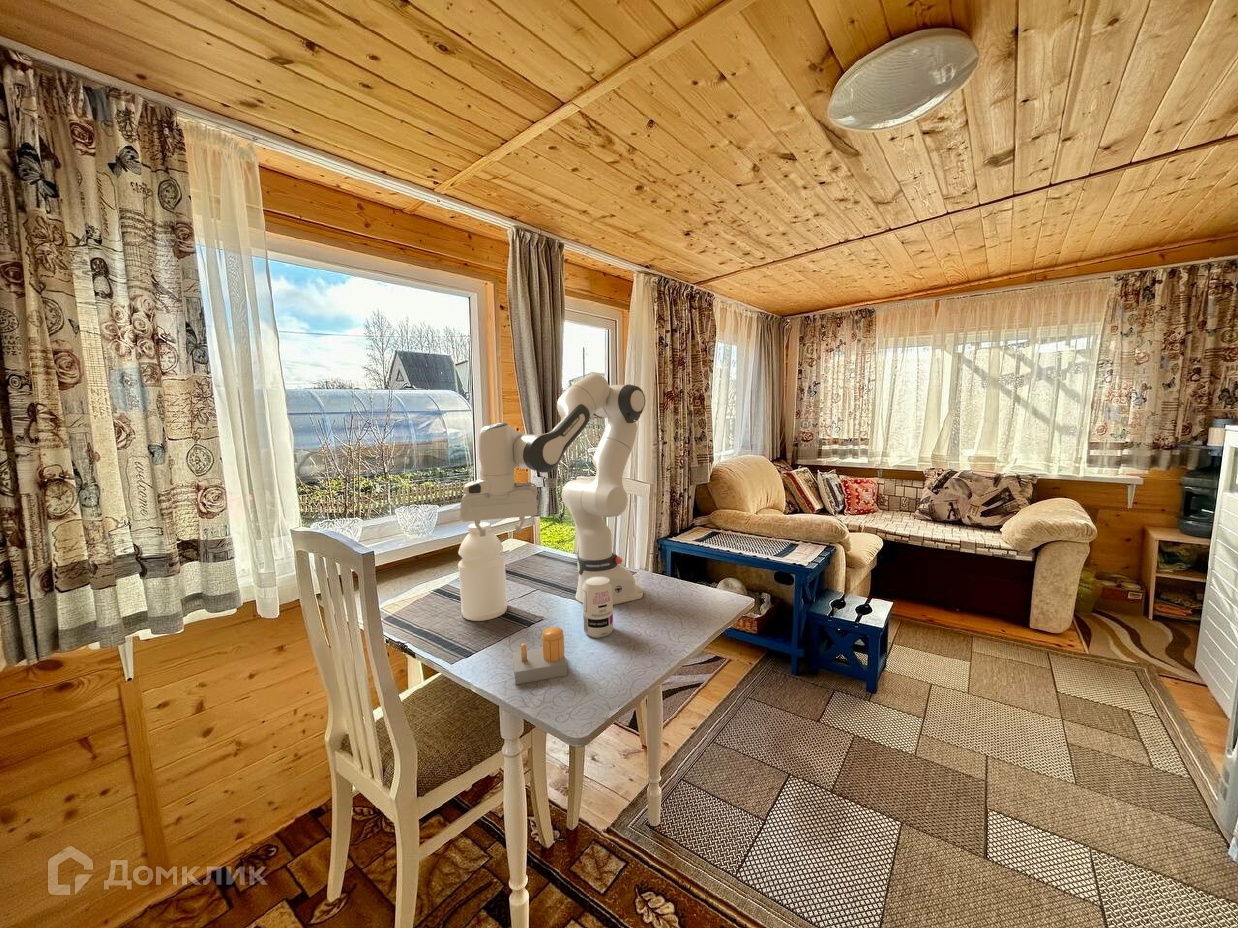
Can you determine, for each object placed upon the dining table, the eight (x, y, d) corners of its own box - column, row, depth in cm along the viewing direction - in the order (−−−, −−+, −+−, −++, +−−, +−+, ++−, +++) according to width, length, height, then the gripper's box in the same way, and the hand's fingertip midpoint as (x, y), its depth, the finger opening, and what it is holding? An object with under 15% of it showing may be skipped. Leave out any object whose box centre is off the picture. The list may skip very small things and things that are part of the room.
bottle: (495, 623, 137) (489, 531, 133) (452, 620, 139) (446, 530, 136) (514, 603, 150) (510, 519, 147) (476, 601, 153) (470, 518, 150)
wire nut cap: (562, 648, 116) (561, 625, 115) (565, 658, 111) (564, 635, 110) (542, 652, 114) (541, 629, 114) (544, 662, 109) (543, 638, 109)
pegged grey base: (561, 655, 118) (560, 629, 117) (567, 675, 109) (565, 647, 108) (513, 664, 115) (511, 637, 114) (515, 684, 106) (513, 656, 105)
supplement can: (597, 622, 136) (595, 573, 134) (619, 630, 131) (617, 579, 129) (578, 633, 130) (576, 581, 128) (600, 641, 124) (598, 588, 123)
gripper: (535, 479, 130) (538, 527, 131) (459, 484, 124) (462, 534, 126) (538, 483, 124) (540, 533, 125) (457, 488, 118) (461, 541, 120)
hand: (500, 534), depth 126 cm, fingers open, 8 cm apart
